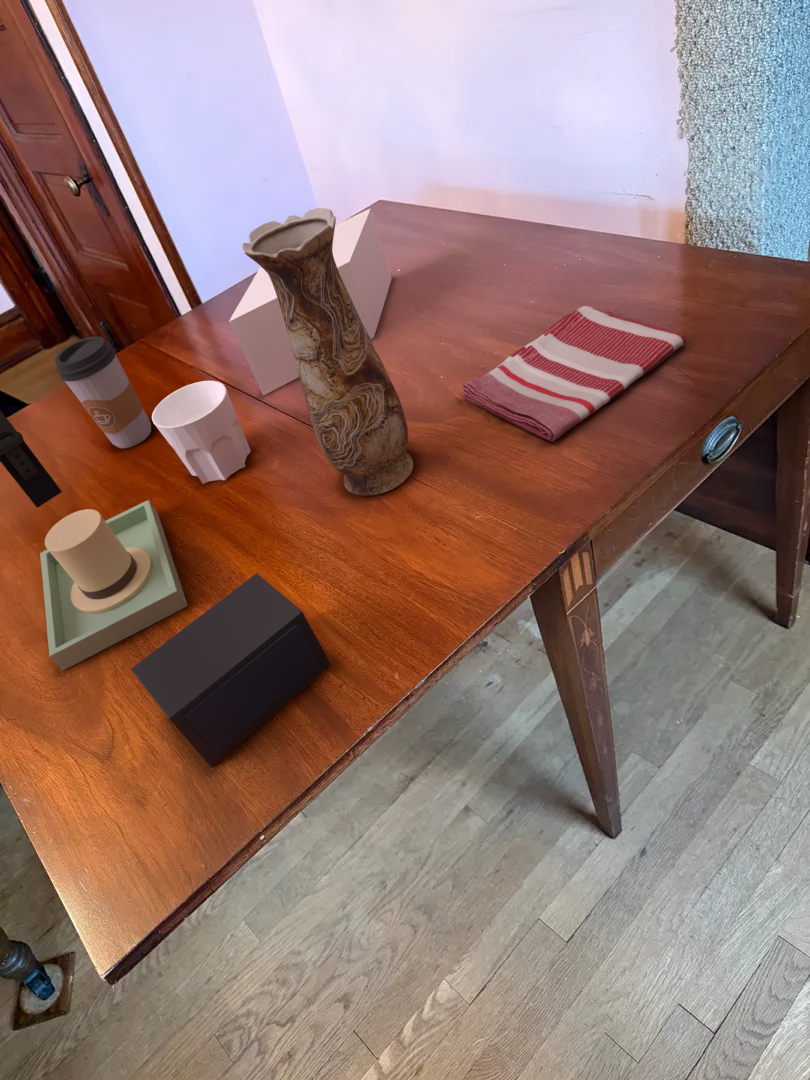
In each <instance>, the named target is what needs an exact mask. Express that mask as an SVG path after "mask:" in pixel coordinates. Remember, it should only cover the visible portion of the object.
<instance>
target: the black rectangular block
mask: <svg viewBox="0 0 810 1080" xmlns="http://www.w3.org/2000/svg"><path fill="white" fill-rule="evenodd" d="M331 666H332V663H331V661H330V659H329V657H328V656H327V654H326V652H325V650H324V649H323V647H322V645H321V643H320V641H319V639H318V637H317V636H316V634H315V632H314V630H313V628H312V627H311V625H310V623H309V621H308V619H307V618H306V615H305V614H304V612H303V611H302V609H300V608H299V607H298V606H297V605H296V604H294V603H293V602H292V601H291V600H290V599H289V598H288V597H286V596H285V595H283V594H282V593H281V591H279V590H278V589H276V587H274V586H273V585H271V583H269V581H267V580H266V579H264V577H262V576H261V575H260V574H259V573H258V572H256V573H255V574H253V575H251V576H250V577H249V578H248V579H247V580H245V581H244V582H243V583H242V584H240V585H239V586H238V587H236V588H235V589H234V590H231V592H229V593H228V594H227V595H226V596H224V597H223V598H222V599H221V600H219V601H217V602H216V603H215V604H214V605H213V606H211V607H210V608H209V609H208V610H206V611H205V612H203V613H202V614H200V615H199V616H198V617H196V619H194V620H193V621H192V622H191V623H189V624H188V625H186V626H185V627H184V628H183V629H181V630H180V631H179V632H177V633H176V634H175V635H173V636H172V637H171V638H169V639H168V640H166V641H165V642H164V643H162V644H161V645H160V646H159V647H158V648H156V649H155V650H154V651H152V652H151V653H150V654H148V655H147V656H146V657H145V658H143V659H142V660H141V661H139V662H137V664H135V665H134V666H133V667H131V669H130V671H132V673H133V674H134V675H135V677H136V678H137V679H138V680H139V682H140V683H141V685H142V686H143V687H144V689H145V690H146V691H147V693H148V694H149V695H150V697H152V699H153V700H154V702H155V703H156V704H157V706H158V707H159V708H160V709H161V711H162V712H163V714H164V715H165V716H166V717H167V719H168V720H169V721H170V722H171V724H172V725H173V726H174V727H175V728H176V729H177V730H178V732H179V733H180V734H181V735H182V736H183V737H184V738H185V739H186V741H187V742H188V743H189V744H190V746H191V747H193V749H194V750H195V751H196V752H197V754H199V755H200V757H201V758H202V759H203V760H204V761H205V763H206V764H207V765H208V766H209V767H210V768H213V767H214V766H215V765H216V764H217V763H219V762H220V761H221V760H222V759H223V758H224V757H226V756H227V755H228V754H229V753H231V751H233V750H234V749H235V748H236V747H237V746H239V745H240V744H241V743H242V742H243V741H244V740H246V739H247V738H248V737H249V736H250V735H252V734H253V733H254V732H255V731H256V730H257V729H258V728H260V727H261V726H263V724H264V723H266V722H267V721H268V720H269V719H270V718H271V717H273V715H275V714H276V713H277V712H278V711H280V709H282V708H283V707H284V706H285V705H287V704H288V703H289V702H290V701H291V700H292V699H293V698H295V697H296V696H297V695H298V694H299V693H301V692H302V691H303V690H304V689H306V687H307V686H309V685H310V684H311V683H312V682H313V681H314V680H316V679H318V678H319V676H320V675H321V674H323V673H324V672H326V670H327V669H329V668H330V667H331Z"/></svg>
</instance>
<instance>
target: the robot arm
mask: <svg viewBox="0 0 810 1080" xmlns="http://www.w3.org/2000/svg"><path fill="white" fill-rule="evenodd" d="M0 463H1V465H2V466H3V467H4V468H5V469H6V471H7V472H8V474H10V476H11V477H12V478H13V479H14V481H15V482H16V484H17V485H19V487H20V489H21V490H22V491H23V492H24V494H25V495H26V496H27V497H28V498H29V500H30V501H31V502H32V504H34V506H35V507H36V508H37V509H38V508H40V507H41V506H43V505H44V504H46V503H47V502H49V501H50V500H52V499H53V498H55V497H57V496H58V495H60V494H62V493H63V491H62V490H61V488H60V487H59V486H58V484H57V483H56V481H55V480H54V479H53V477H52V476H51V475H50V474H49V472H48V471H47V469H46V468H45V466H43V464H42V463H41V461H40V460H39V459H38V457H37V456H36V454H35V453H34V452H33V451H32V449H31V448H30V447H29V445H28V444H27V442H26V441H25V440H24V436H23V434H22V433H21V432H20V431H18V430H17V429H16V428H15V427H14V426H13V424H12V423H11V422H10V420H9V419H8V418H7V416H6V415H5V414H4V413H3V412H2V410H1V409H0Z"/></svg>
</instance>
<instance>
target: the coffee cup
mask: <svg viewBox="0 0 810 1080" xmlns="http://www.w3.org/2000/svg"><path fill="white" fill-rule="evenodd" d="M54 363H55V365H56V372H57V374H59V377H60V379H61V380H62V381H63V382H64V383H65V384H66V385H67V386H68V388H69V389H70V390H71V392H72V393H73V395H75V397H76V398H77V399H78V401H79V402H80V404H81V406H82V407H83V409H84V410H85V411H86V412H87V413H88V415H89V416H90V417H91V419H92V420H93V421H94V422H95V424H96V425H97V426H98V428H99V429H100V430H101V431H102V433H104V435H105V437H106V438H107V439H108V441H109V442H110V443H111V444H112V445H113V446H115V447H117V448H118V449H128V448H132V447H135V446H137V445H138V444H140V443H142V442H143V441H145V440H146V439H147V438H148V437H149V436H150V434H151V433H152V423H151V421H150V419H149V417H148V415H147V413H146V411H145V410H144V407H143V404H142V402H141V400H140V398H139V396H138V394H137V391H136V390H135V388H134V386H133V384H132V382H131V380H130V379H129V377H128V376H127V374H126V372H125V370H124V368H123V366H122V363H120V361H119V358H118V356H117V352H116V350H115V349H114V348H113V346H112V344H111V343H110V342H108V341H106V340H105V339H104V337H102V336H98V335H95V336H93V335H92V336H88V337H85V338H82V339H79V340H77V341H75V342H73V343H71V344H69V345H67V346H65V348H63V349H62V350H61V351H60V352H59V353H58V354H57V355H55V358H54Z"/></svg>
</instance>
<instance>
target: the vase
mask: <svg viewBox="0 0 810 1080" xmlns="http://www.w3.org/2000/svg"><path fill="white" fill-rule="evenodd" d="M336 222H337V217H336V216H335V215H334V213H333V211H332V209H330V208H325V207H317V208H312V209H308V211H307V212H305V214H304V215H303V216H302V217H301V216H298V215H288V216H287V217H286V219H285V221H284V223H281V222H278V221H275V220H273V221H269V222H265V223H263V224H261V225H259V226H258V227H256V228H254V229H253V230H251V231H250V233H249V236H248V238H249V242H244V243H242V246H241V247H242V250H243V251H244V255H246V256H247V257H248V258H250V259H251V260H252V261H254V262H256V264H258V266H259V267H262V268H263V269H264V270H265V271H266V272H267V273H268V275H269V277H270V279H271V282H272V284H273V287H274V289H275V292H276V295H277V298H278V301H279V305H280V308H281V311H282V315H283V319H284V322H285V326H286V329H287V333H288V337H289V340H290V344H291V347H292V351H293V355H294V358H295V362H296V366H297V370H298V374H299V377H298V378H299V381H300V386H301V388H302V392H303V396H304V400H305V403H306V408H307V411H308V414H309V418H310V422H311V425H312V428H313V432H314V434H315V437H316V439H317V441H318V444H319V446H320V448H321V450H322V452H323V454H324V456H325V458H326V460H327V461H328V462H329V464H330V465H331V466H332V467H333V468H334V469H335V470H336V471H338V472H339V473H341V474H343V485H344V488H345V489H346V490H347V492H349V493H351V494H353V495H356V496H377V495H382V494H384V493H386V492H389V491H392V490H393V489H396V488H397V487H398V486H400V485H402V484H403V483H404V482H405V481H406V480H407V478H408V477H409V476H410V475H411V474H412V472H413V468H414V460H413V458H412V457H411V455H410V454H409V453H408V452H407V451H406V450H407V447H408V444H409V428H408V427H409V426H408V423H407V419H406V415H405V412H404V408H403V406H402V402H401V400H400V397H399V395H398V393H397V391H396V388H395V386H394V384H393V382H392V380H391V378H390V376H389V373H388V371H387V369H386V367H385V365H384V363H383V361H382V359H381V357H380V355H379V353H378V351H377V349H376V347H375V346H374V343H373V341H372V339H370V337H369V335H368V333H367V331H366V329H365V327H364V325H363V323H362V321H361V319H360V317H359V315H358V313H357V311H356V309H355V306H354V304H353V302H352V300H351V298H350V296H349V293H348V291H347V289H346V287H345V285H344V283H343V280H342V278H341V276H340V274H339V271H338V269H337V266H336V263H335V260H334V257H333V253H332V247H333V237H334V230H335V225H336Z"/></svg>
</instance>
